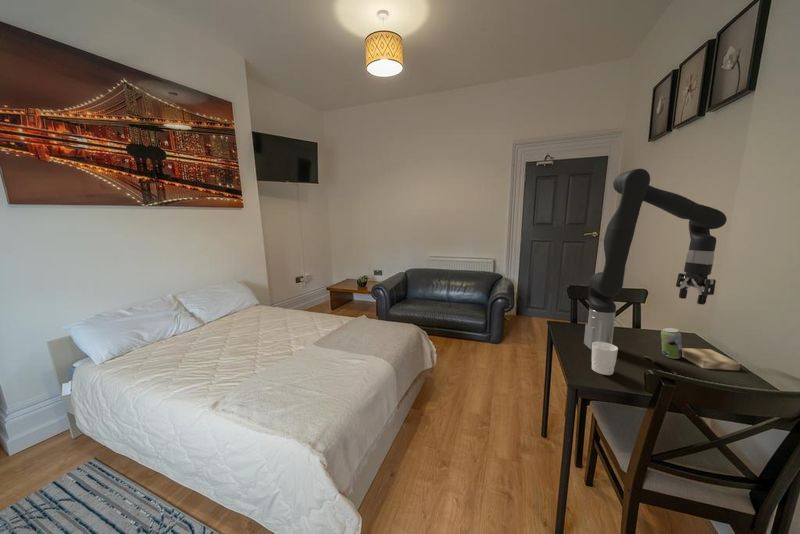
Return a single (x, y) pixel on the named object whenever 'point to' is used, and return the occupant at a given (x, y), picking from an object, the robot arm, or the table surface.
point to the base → (709, 359)
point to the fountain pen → (658, 364)
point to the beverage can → (671, 343)
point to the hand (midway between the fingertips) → (691, 301)
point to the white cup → (603, 357)
